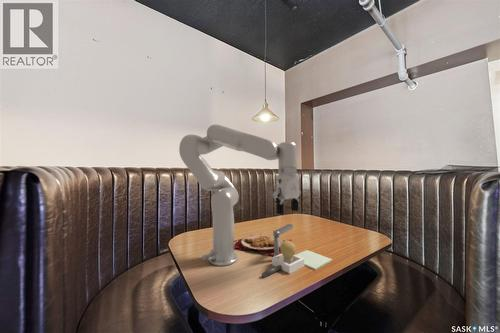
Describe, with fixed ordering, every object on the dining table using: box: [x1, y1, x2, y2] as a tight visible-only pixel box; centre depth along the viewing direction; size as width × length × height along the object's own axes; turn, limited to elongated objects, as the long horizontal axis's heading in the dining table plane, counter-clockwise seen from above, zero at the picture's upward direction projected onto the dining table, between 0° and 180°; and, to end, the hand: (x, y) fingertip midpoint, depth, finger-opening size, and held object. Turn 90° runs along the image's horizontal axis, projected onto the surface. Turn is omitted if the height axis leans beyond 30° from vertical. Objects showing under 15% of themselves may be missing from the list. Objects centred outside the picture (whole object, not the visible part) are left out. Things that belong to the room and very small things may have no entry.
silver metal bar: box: [272, 223, 294, 237], centre depth 92 cm, size 3×16×2 cm, turn 143°
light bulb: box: [280, 240, 297, 264], centre depth 81 cm, size 6×6×10 cm
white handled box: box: [261, 236, 305, 278], centre depth 79 cm, size 20×12×10 cm, turn 129°
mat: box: [295, 249, 333, 271], centre depth 86 cm, size 13×13×1 cm
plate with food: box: [234, 233, 292, 256], centre depth 105 cm, size 25×26×4 cm
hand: (287, 212), depth 82 cm, fingers open, 9 cm apart
